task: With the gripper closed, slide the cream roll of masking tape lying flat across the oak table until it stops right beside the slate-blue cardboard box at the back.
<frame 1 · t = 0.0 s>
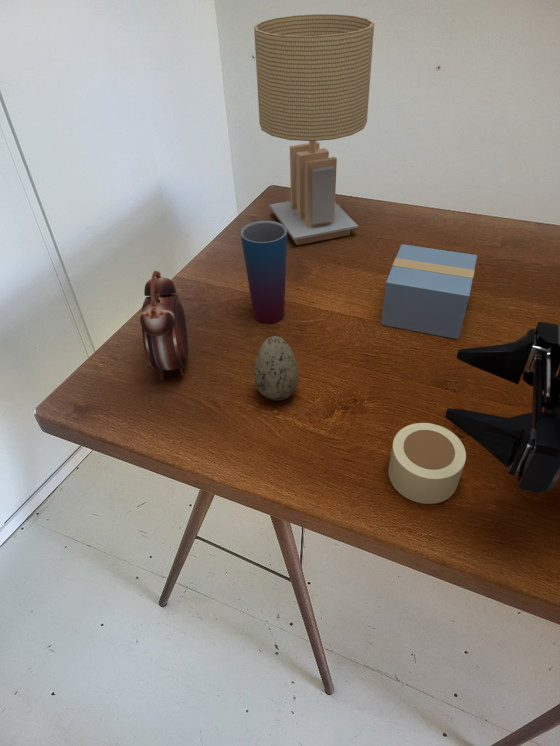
hand: (452, 381, 53), 14 cm above the table, tool horizontal, fingers open, 9 cm apart
desk lamp: (311, 226, 108), on the table
carton: (425, 310, 85), on the table
cup: (269, 315, 86), on the table
tape: (422, 475, 61), on the table
alarm clock: (173, 365, 77), on the table
decorative egg: (277, 395, 72), on the table
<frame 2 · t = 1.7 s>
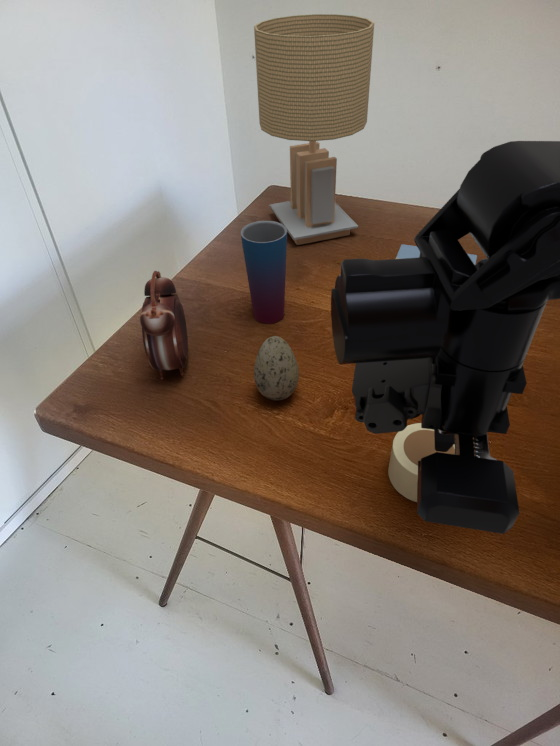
hand: (441, 479, 46), 12 cm above the table, tool pointing down, fingers open, 6 cm apart
nothing on the table moved.
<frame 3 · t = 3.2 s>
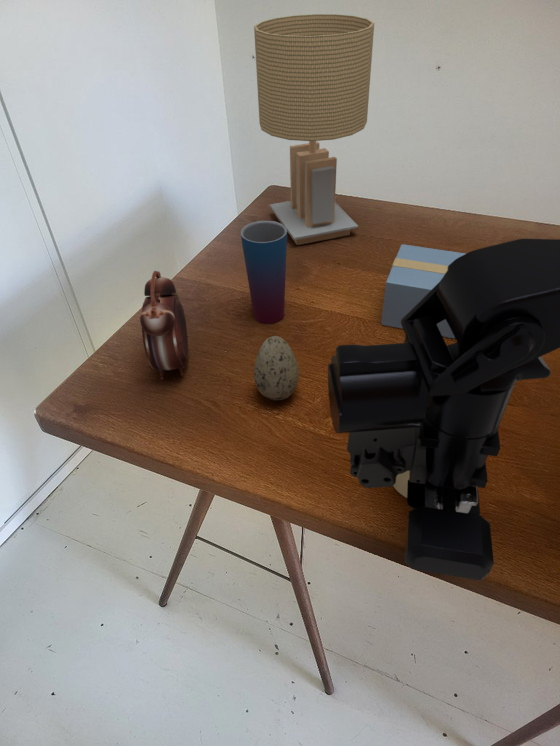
hand: (429, 519, 51), 5 cm above the table, tool pointing down, fingers closed
nothing on the table moved.
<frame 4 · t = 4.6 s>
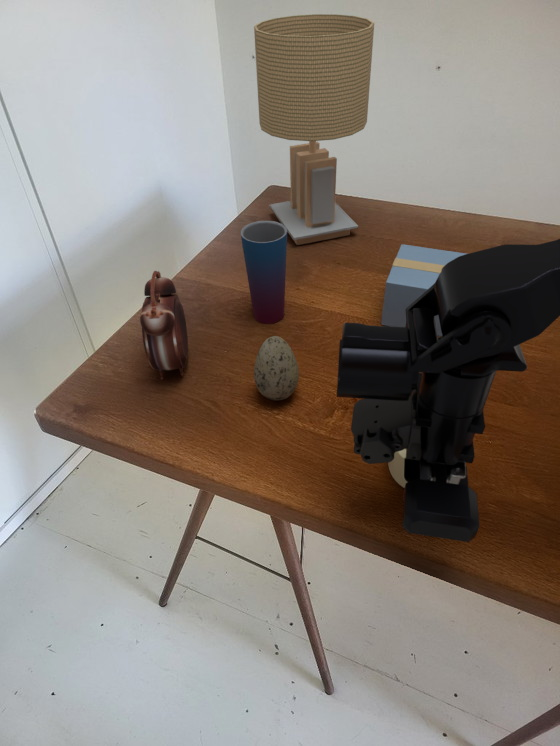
hand: (424, 496, 57), 2 cm above the table, tool pointing down, fingers closed
tape: (422, 466, 62), on the table, touching gripper
everything else where it was.
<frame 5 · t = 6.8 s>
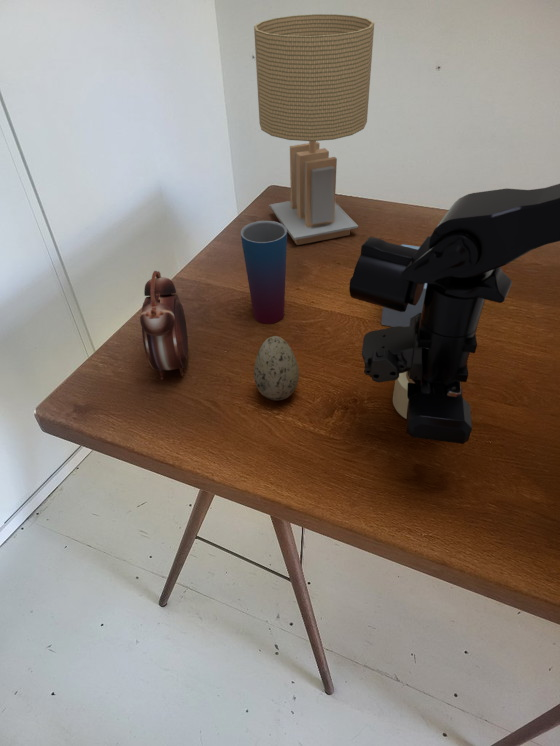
hand: (424, 422, 64), 2 cm above the table, tool pointing down, fingers closed
tape: (422, 402, 70), on the table, touching gripper
everything else where it was.
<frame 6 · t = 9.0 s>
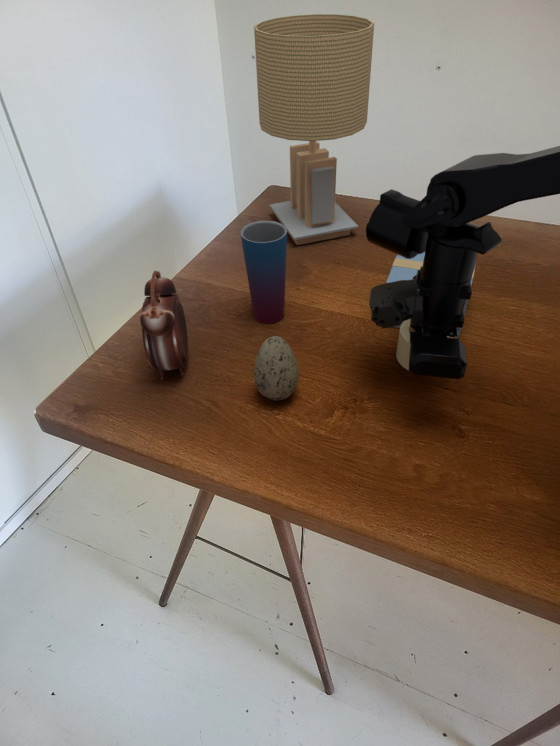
hand: (425, 370, 71), 2 cm above the table, tool pointing down, fingers closed
tape: (423, 357, 77), on the table, touching gripper
everything else where it was.
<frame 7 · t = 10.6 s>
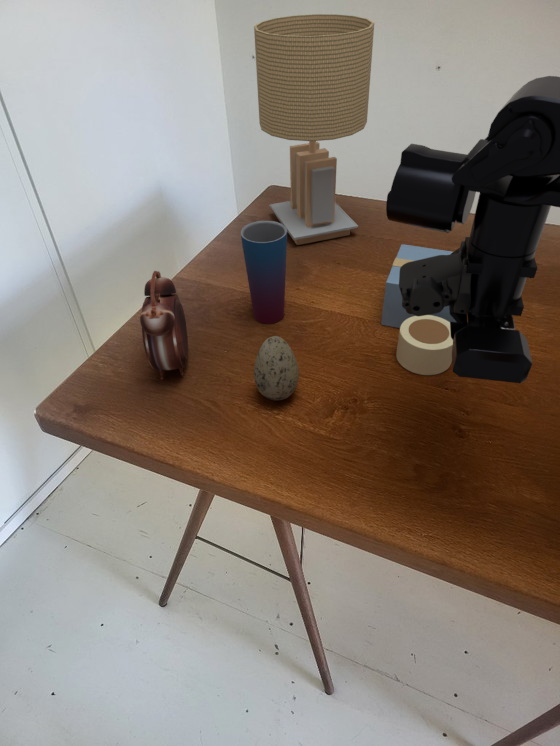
hand: (466, 370, 57), 12 cm above the table, tool pointing down, fingers closed
tape: (423, 357, 77), on the table
everything else where it was.
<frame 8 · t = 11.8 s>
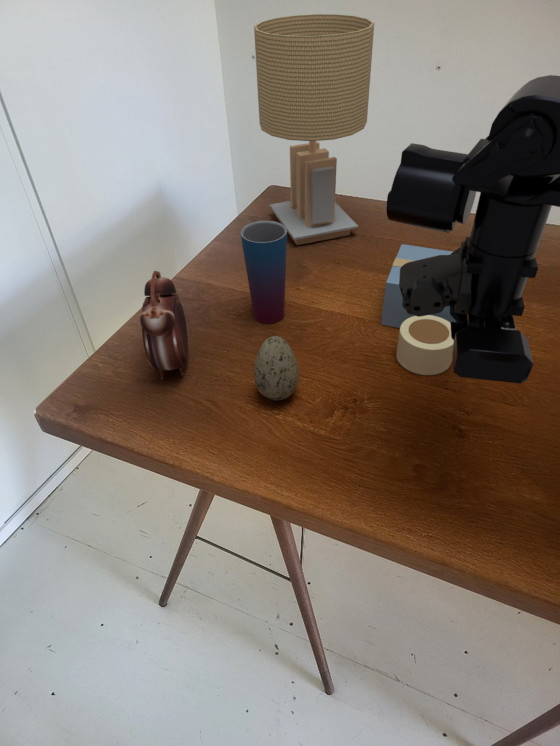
hand: (466, 371, 57), 12 cm above the table, tool pointing down, fingers closed
nothing on the table moved.
at the end: tape 11.8 cm from the carton (horizontally); tape tilted 0°; tape moved 21.6 cm from its start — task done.
